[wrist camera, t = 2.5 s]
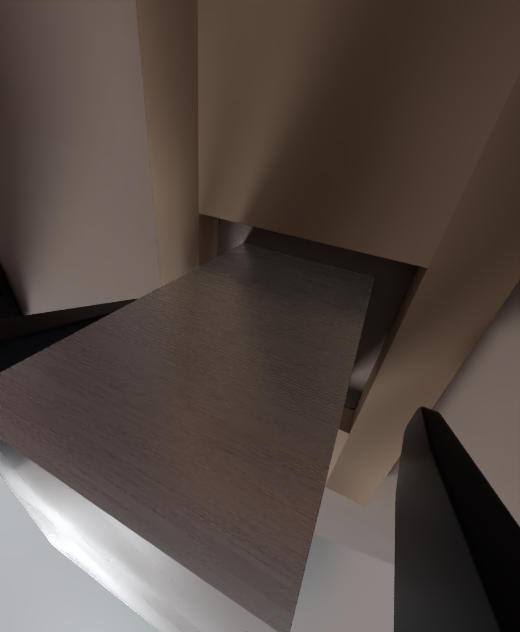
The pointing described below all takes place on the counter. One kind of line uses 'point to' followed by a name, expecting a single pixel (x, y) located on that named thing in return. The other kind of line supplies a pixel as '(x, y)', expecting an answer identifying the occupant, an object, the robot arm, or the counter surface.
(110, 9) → the counter surface
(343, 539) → the counter surface
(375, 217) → the brown flat frame piece
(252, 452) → the square peg
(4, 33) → the counter surface
